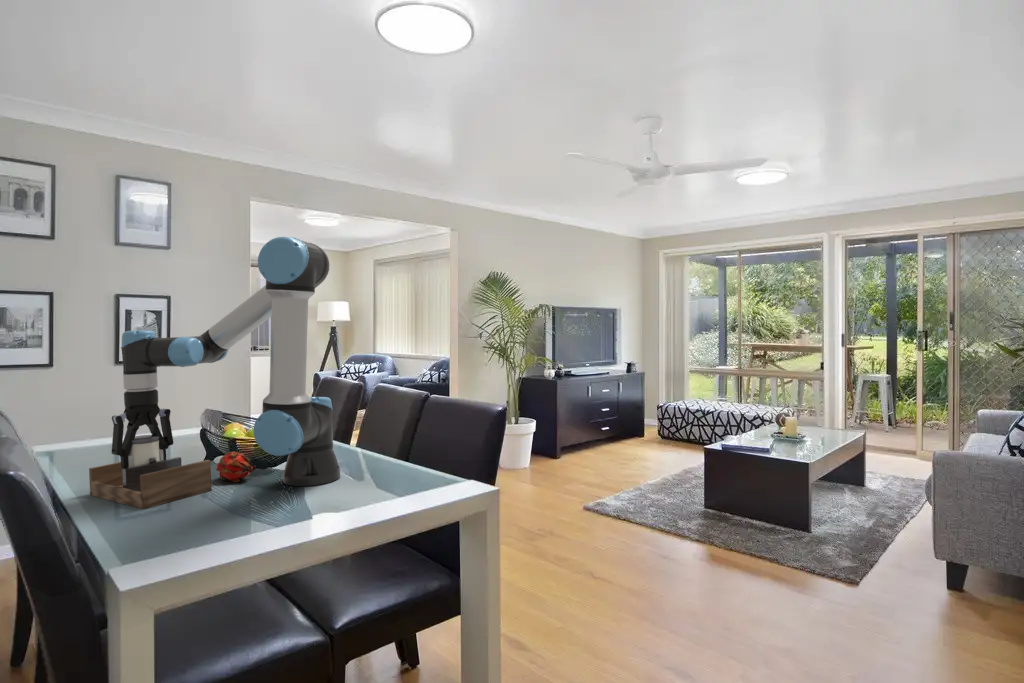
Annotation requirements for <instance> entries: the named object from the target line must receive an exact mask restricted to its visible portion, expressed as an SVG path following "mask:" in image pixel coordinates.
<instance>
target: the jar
mask: <svg viewBox="0 0 1024 683" xmlns="http://www.w3.org/2000/svg"><path fill="white" fill-rule="evenodd" d="M129 455H132V456H133V466H138V465H142V464H147V463H149V458H156V461H160V457H159V436H155V435H152V434H143V435H142V434H141V435H135V438H134V440H132V447H131V450H130V453H129Z"/></svg>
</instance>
